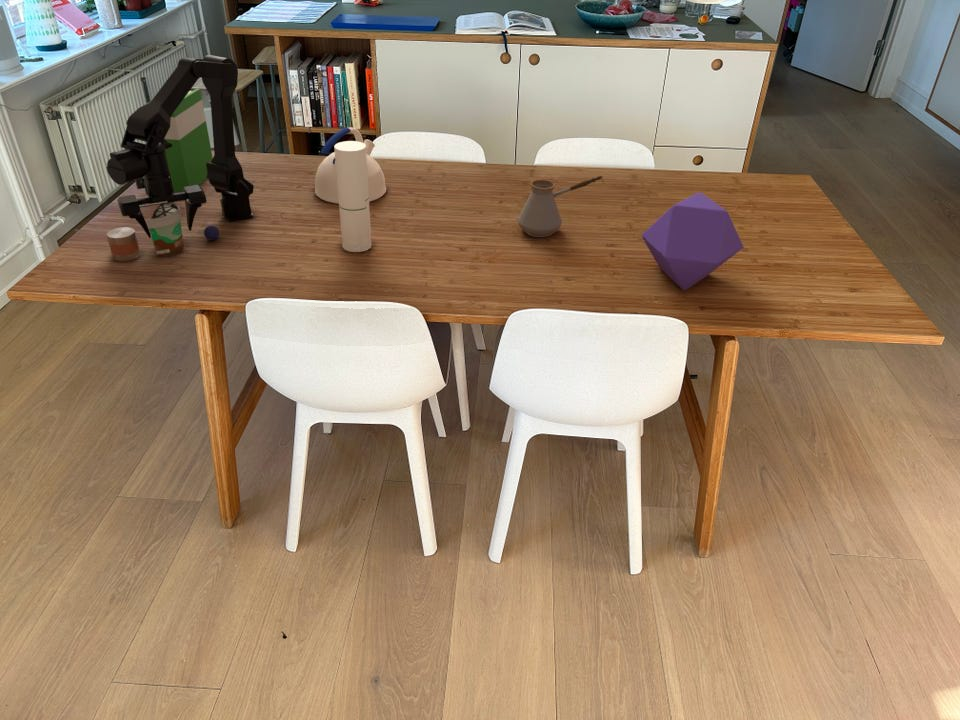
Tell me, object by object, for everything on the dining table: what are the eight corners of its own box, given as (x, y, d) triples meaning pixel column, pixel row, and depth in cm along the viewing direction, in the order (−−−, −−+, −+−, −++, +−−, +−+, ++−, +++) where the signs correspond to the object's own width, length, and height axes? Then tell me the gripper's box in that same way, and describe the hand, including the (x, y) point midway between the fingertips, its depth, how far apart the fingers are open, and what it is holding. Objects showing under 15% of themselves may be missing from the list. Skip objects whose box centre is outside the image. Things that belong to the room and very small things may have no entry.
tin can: (138, 248, 179) (132, 225, 176) (142, 258, 175) (136, 234, 172) (111, 253, 177) (104, 229, 173) (114, 263, 172) (108, 240, 169)
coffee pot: (519, 240, 189) (523, 184, 180) (514, 222, 198) (517, 167, 190) (602, 240, 191) (609, 184, 182) (593, 221, 200) (600, 167, 192)
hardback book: (191, 169, 223) (174, 87, 210) (214, 170, 223) (200, 88, 209) (164, 191, 209) (145, 104, 195) (189, 192, 208) (172, 105, 195)
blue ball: (218, 235, 186) (216, 222, 184) (222, 241, 184) (219, 227, 182) (203, 238, 185) (201, 224, 183) (207, 243, 182) (204, 230, 180)
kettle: (401, 188, 216) (399, 125, 206) (354, 211, 201) (350, 145, 191) (347, 172, 225) (343, 112, 214) (299, 193, 210) (292, 130, 200)
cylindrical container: (376, 242, 186) (371, 143, 172) (363, 254, 180) (357, 152, 166) (350, 237, 188) (343, 139, 173) (337, 249, 182) (328, 148, 168)
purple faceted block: (724, 312, 169) (775, 235, 161) (659, 291, 161) (710, 208, 152) (676, 267, 187) (720, 196, 179) (615, 246, 178) (658, 170, 170)
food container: (182, 259, 175) (174, 219, 170) (155, 259, 175) (146, 220, 169) (193, 236, 185) (185, 198, 180) (168, 237, 185) (159, 199, 179)
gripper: (190, 154, 179) (202, 214, 188) (106, 165, 171) (123, 228, 180) (201, 169, 171) (212, 231, 180) (114, 181, 163) (130, 246, 172)
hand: (170, 233), depth 178 cm, fingers open, 9 cm apart
